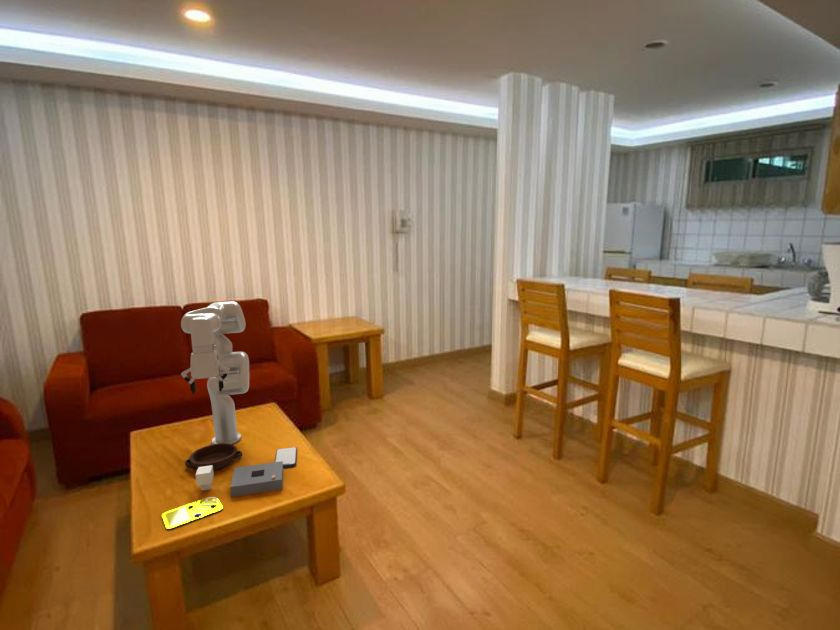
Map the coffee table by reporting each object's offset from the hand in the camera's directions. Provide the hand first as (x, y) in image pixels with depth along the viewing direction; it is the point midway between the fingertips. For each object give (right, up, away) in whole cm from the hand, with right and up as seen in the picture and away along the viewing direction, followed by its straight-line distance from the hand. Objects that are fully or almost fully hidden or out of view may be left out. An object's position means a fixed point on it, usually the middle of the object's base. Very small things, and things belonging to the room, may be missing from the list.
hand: (207, 391), depth 180 cm
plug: (+2, -36, -6) cm, 36 cm away
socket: (+21, -35, -3) cm, 41 cm away
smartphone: (+26, -32, +16) cm, 44 cm away
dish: (-3, -33, +13) cm, 35 cm away
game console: (+4, -39, -20) cm, 44 cm away
